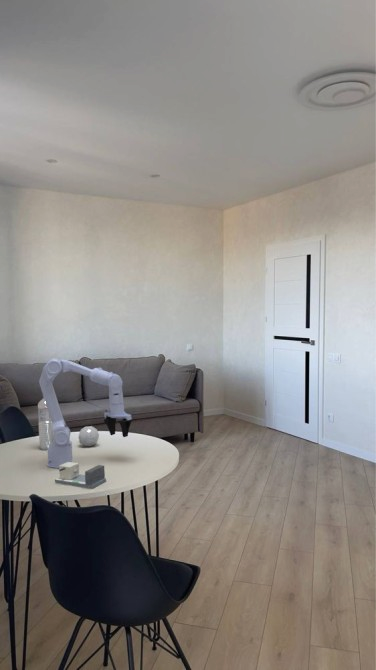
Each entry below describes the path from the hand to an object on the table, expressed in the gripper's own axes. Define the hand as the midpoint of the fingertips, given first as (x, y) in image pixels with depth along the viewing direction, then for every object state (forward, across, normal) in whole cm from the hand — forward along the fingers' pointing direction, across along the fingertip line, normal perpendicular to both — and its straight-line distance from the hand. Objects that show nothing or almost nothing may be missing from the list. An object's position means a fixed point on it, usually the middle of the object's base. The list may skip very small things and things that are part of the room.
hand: (119, 435), depth 201 cm
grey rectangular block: (+9, -14, +25) cm, 30 cm away
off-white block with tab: (+8, -3, +29) cm, 30 cm away
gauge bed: (+10, -7, +27) cm, 30 cm away
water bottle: (+10, +43, +6) cm, 45 cm away
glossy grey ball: (+10, +32, -9) cm, 35 cm away
